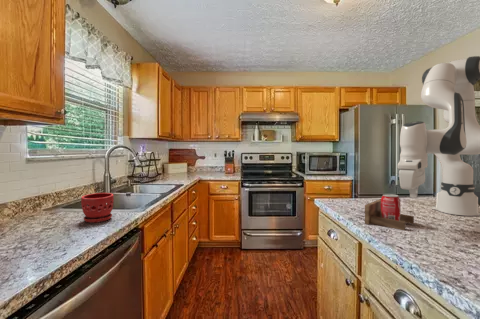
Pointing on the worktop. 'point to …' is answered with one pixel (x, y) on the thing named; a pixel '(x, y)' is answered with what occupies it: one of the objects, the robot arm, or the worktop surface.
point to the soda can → (390, 206)
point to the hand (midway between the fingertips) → (413, 197)
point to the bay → (375, 218)
